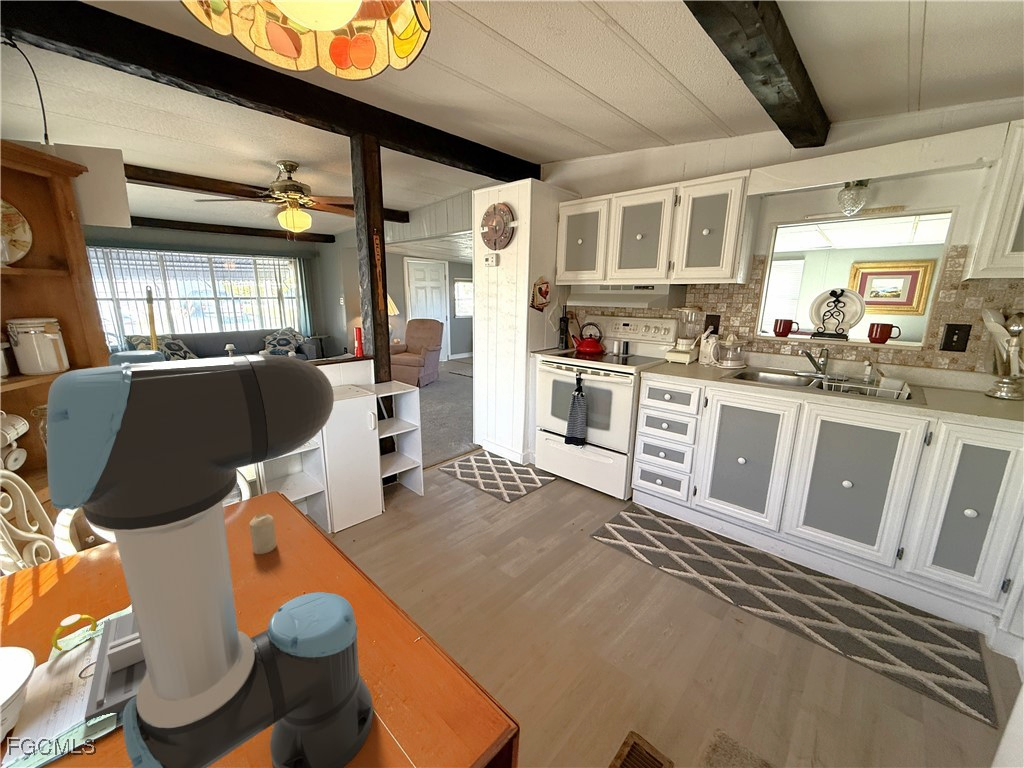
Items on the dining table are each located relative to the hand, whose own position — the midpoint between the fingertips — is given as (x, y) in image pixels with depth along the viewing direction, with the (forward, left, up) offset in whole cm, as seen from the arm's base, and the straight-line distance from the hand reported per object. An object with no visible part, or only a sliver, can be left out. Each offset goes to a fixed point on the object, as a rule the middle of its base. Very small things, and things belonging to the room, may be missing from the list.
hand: (172, 542), depth 79 cm
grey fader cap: (-7, +8, -18) cm, 20 cm away
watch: (+7, +17, -20) cm, 27 cm away
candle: (+19, -17, -20) cm, 33 cm away
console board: (-4, +4, -20) cm, 21 cm away
